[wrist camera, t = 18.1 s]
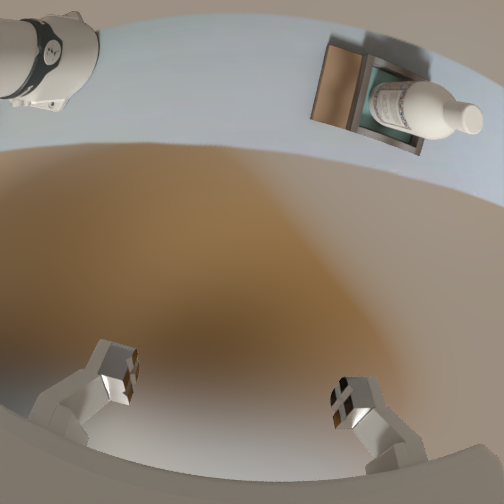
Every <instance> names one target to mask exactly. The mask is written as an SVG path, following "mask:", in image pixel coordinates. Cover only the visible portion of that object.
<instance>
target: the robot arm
mask: <svg viewBox="0 0 504 504" xmlns="http://www.w3.org/2000/svg"><path fill="white" fill-rule="evenodd" d="M97 57H98V39H97V36H96V34H95V32H94V30H93V29H92V28H91V27H90V26H89V25H87V24H86V23H84V22H83V20H82V17H81V15H80V13H79V12H76V11H72V12H70V13H67V14H65V15H63V16H60V15H53V14H49V15H47V16H46V17H43V18H41V19H40V20H38V19H21V20H12V19H2V18H0V99H9V101H10V102H12V106H13V107H21V106H23V105H24V106H32V107H37V108H42V109H47V110H52V111H61V110H62V109H63V108H64V106H65V105H66V103H67V101H68V100H69V98H70V97H71V96H72V95H73V94H74V93H76V92H77V91H78V90H79V89H80V88H81V87H82V86H83V85H84V84H85V83H86V81H87V80H88V79H89V77H90V75H91V73H92V72H93V69H94V67H95V64H96V61H97ZM53 102H54V105H53ZM137 356H138V350H137V349H135V348H131V347H127V346H124V345H121V344H117V343H114V342H110V341H107V340H103V339H101V340H100V341H99V342H98V344H97V346H96V348H95V350H94V352H93V354H92V356H91V358H90V360H89V362H88V364H87V366H86V368H85V370H84V369H80V370H79V371H77V372H76V373H74V374H72V375H71V376H69V377H67V378H66V379H64V380H62V381H61V382H59V383H57V384H56V385H54V386H52V387H51V388H49V389H47V390H46V391H44V392H42V393H41V394H39V396H38V398H37V400H36V402H35V404H34V407H33V409H32V411H31V413H30V415H29V417H28V419H27V420H26V419H25V418H23V417H21V416H19V415H17V414H16V413H14V412H12V411H10V410H9V409H7V408H5V407H4V406H2V405H0V504H504V470H503V467H502V464H501V461H500V460H499V458H498V457H497V456H496V455H495V454H494V453H493V452H492V451H491V450H490V449H489V448H488V447H486V446H485V445H483V444H477V445H474V446H472V447H469V448H466V449H464V450H461V451H458V452H456V453H453V454H450V455H447V456H444V457H441V458H438V459H434V460H431V461H428V459H427V455H426V452H425V448H424V445H423V442H422V439H421V437H420V436H419V435H418V434H417V433H416V432H415V431H413V430H412V429H411V428H410V427H409V426H408V425H407V424H406V423H405V422H404V421H403V420H402V419H401V418H400V417H399V416H398V415H396V413H395V412H393V411H392V410H391V409H390V408H389V407H386V405H385V402H384V398H383V395H382V392H381V389H380V386H379V383H378V380H377V378H376V377H346V376H344V377H342V378H341V379H340V380H339V385H338V386H336V387H335V388H334V389H333V391H332V393H331V397H330V405H331V408H332V409H333V410H334V411H335V413H334V415H333V421H334V427H335V429H352V430H353V432H354V433H355V434H356V436H357V437H358V438H359V439H360V441H361V442H362V443H363V445H364V446H365V447H366V448H367V450H368V451H369V452H370V454H371V455H372V456H373V457H374V460H372V461H371V462H370V463H368V464H367V465H366V467H365V469H366V475H363V476H356V477H349V478H341V479H330V480H318V481H298V482H263V481H243V480H230V479H221V478H212V477H204V476H197V475H191V474H185V473H179V472H174V471H169V470H164V469H160V468H155V467H151V466H147V465H143V464H139V463H135V462H132V461H128V460H125V459H121V458H118V457H115V456H112V455H109V454H106V453H103V452H100V451H97V450H94V449H91V448H89V447H86V446H87V442H88V439H89V437H88V435H87V433H86V432H85V431H84V429H83V428H82V426H81V425H82V424H83V423H84V422H85V421H86V420H88V419H89V418H90V417H91V416H93V415H94V414H95V413H96V412H97V411H99V410H100V409H101V408H102V407H103V406H105V405H106V404H107V403H108V402H109V401H110V400H112V401H115V402H119V403H123V404H127V405H130V402H131V399H132V395H133V393H134V392H133V387H132V386H133V385H134V384H136V383H137V380H138V376H139V371H140V364H139V361H138V360H137Z"/></svg>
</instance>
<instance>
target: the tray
mask: <svg viewBox="0 0 504 504" xmlns="http://www.w3.org/2000/svg"><path fill="white" fill-rule="evenodd" d="M403 81H427V80H425V79H423V78H422V77H420V76H418V75H416V74H414V73H412V72H409V71H407V70H405V69H403V68H401V67H399V66H397V65H394V64H392V63H390V62H387V61H385V60H383V59H380V58H378V57H375V56H373V55H370V54H366V55H363V56H361V55H359V54H356V53H353V52H350V51H347V50H344V49H341V48H338V47H335V46H332V45H329V46H327V47H326V52H325V56H324V61H323V65H322V70H321V74H320V79H319V83H318V87H317V92H316V96H315V100H314V105H313V109H312V113H311V117H310V119H311V120H315V121H318V122H322V123H326V124H329V125H333V126H336V127H340V128H343V129H346V130H349V131H352V132H355V133H358V134H361V135H364V136H367V137H370V138H373V139H376V140H379V141H382V142H384V143H387V144H390V145H392V146H395V147H398V148H400V149H403V150H405V151H408V152H410V153H413V154H415V155H418V156H420V153H421V149H422V146H423V142H424V138H421V137H418V136H415V135H412V134H409V133H406V132H403V131H399V130H396V129H393V128H390V127H386V126H383V125H381V124H380V123H378V122H377V121H376V120H375V119H374V118H373V116H372V114H371V112H370V110H369V105H368V99H369V95H370V93H371V91H372V89H373V88H374V87H375V86H377V85H378V84H381V83H386V82H403ZM428 82H429V81H428Z"/></svg>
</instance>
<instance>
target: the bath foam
mask: <svg viewBox="0 0 504 504" xmlns="http://www.w3.org/2000/svg"><path fill="white" fill-rule="evenodd" d="M368 105H369V110H370V112H371V114H372V116H373V118H374V119H375V120H376V121H377V122H378V123H380V124H381V125H383V126H386V127H390V128H393V129H396V130H399V131H403V132H406V133H409V134H412V135H415V136H418V137H421V138H424V139H433V140H435V139H442V138H445V137H447V136H449V135H451V134H452V133H453V132H454V131H455V130H459V131H463V132H466V133H469V134H477V133H479V132H480V130H481V129H482V126H483V116H482V113H481V111H480V109H479V108H478V107H477V106H476V105H474V104H471V103H465V102H458V101H456V100H455V98H454V97H453V96H452V94H451V93H450V92H449V91H447V90H446V89H445V88H443V87H442V86H440V85H438V84H435V83H432V82H428V81H403V82H386V83H381V84H378V85H377V86H375V87H374V88H373V89H372V91H371V93H370V95H369V99H368Z"/></svg>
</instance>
